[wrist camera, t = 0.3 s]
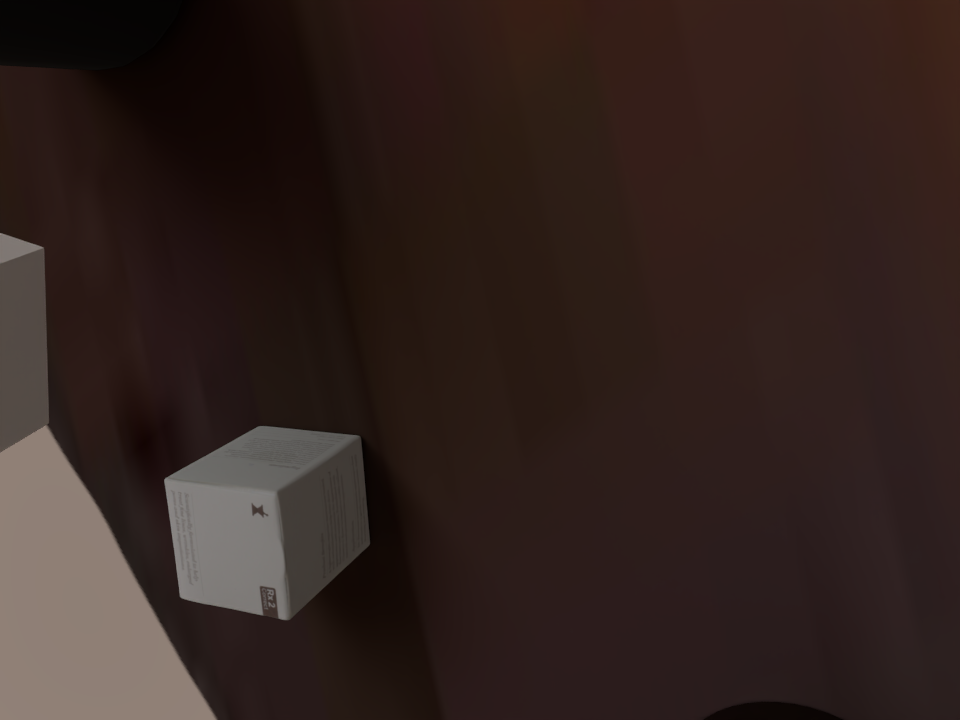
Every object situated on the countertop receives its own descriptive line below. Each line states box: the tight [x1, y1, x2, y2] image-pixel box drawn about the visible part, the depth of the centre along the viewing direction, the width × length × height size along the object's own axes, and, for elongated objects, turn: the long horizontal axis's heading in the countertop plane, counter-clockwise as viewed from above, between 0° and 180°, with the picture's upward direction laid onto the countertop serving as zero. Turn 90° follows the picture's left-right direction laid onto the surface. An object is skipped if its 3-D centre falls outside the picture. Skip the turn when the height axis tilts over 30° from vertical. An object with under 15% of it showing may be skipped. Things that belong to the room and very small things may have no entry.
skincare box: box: [165, 426, 370, 620], centre depth 42 cm, size 6×6×7 cm
